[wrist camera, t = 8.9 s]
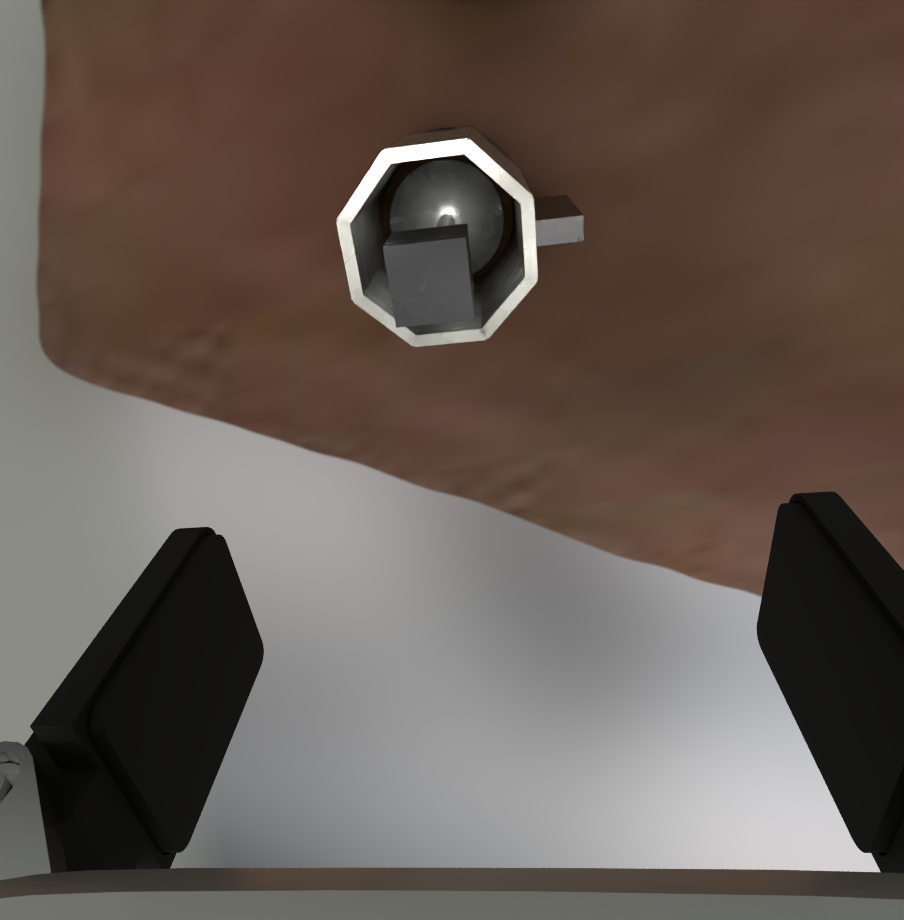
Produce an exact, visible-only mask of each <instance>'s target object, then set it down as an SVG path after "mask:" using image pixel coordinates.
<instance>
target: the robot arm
mask: <svg viewBox="0 0 904 920" xmlns="http://www.w3.org/2000/svg"><path fill="white" fill-rule="evenodd" d="M757 636H758V641H759V644H760V647H761V649H762V652H763V654H764V656H765V658H766V660H767V662H768V664H769V666H770V668H771V670H772V672H773V675H774V677H775V679H776V681H777V683H778V685H779V687H780V689H781V691H782V693H783V695H784V697H785V699H786V702H787V704H788V706H789V708H790V710H791V712H792V714H793V716H794V718H795V720H796V722H797V724H798V726H799V729H800V731H801V733H802V735H803V737H804V739H805V741H806V743H807V745H808V747H809V749H810V751H811V754H812V756H813V757H814V760H815V762H816V764H817V766H818V768H819V770H820V772H821V774H822V776H823V779H824V780H825V783H826V785H827V787H828V789H829V791H830V793H831V795H832V797H833V799H834V801H835V803H836V805H837V808H838V810H839V812H840V814H841V816H842V818H843V820H844V822H845V824H846V826H847V828H848V830H849V833H850V835H851V837H852V839H853V840H854V842H855V844H856V846H857V847H858V848H859V849H860V850H861V851H862V852H864V853H872V855H873V857H874V859H875V861H876V863H877V865H878V867H879V869H880V871H881V873H879V872H877V873H876V872H840V871H839V872H838V871H800V870H730V869H721V870H720V869H607V868H605V869H604V868H176V869H170V867H171V865H172V862H173V860H174V858H175V855H176V853H180V852H182V851H183V850H184V849H185V848H186V847H187V845H188V843H189V841H190V839H191V837H192V834H193V832H194V829H195V827H196V824H197V822H198V820H199V817H200V815H201V812H202V810H203V807H204V805H205V802H206V800H207V797H208V795H209V793H210V790H211V788H212V785H213V783H214V780H215V777H216V775H217V773H218V770H219V768H220V765H221V763H222V761H223V758H224V756H225V753H226V750H227V748H228V746H229V743H230V741H231V738H232V736H233V733H234V731H235V729H236V726H237V723H238V721H239V719H240V716H241V714H242V711H243V709H244V706H245V704H246V701H247V699H248V696H249V694H250V692H251V689H252V687H253V684H254V681H255V679H256V677H257V674H258V672H259V669H260V667H261V664H262V661H263V654H264V649H263V643H262V640H261V637H260V634H259V631H258V629H257V626H256V623H255V620H254V617H253V615H252V612H251V609H250V606H249V604H248V601H247V598H246V595H245V593H244V590H243V587H242V585H241V582H240V579H239V576H238V573H237V571H236V568H235V565H234V562H233V560H232V557H231V554H230V551H229V549H228V546H227V543H226V541H225V539H224V537H223V536H222V535H216V533H215V532H214V530H213V529H212V528H209V527H199V528H182V529H176V530H174V531H173V532H172V533H171V534H170V536H169V537H168V539H167V540H166V541H165V543H164V544H163V546H162V547H161V548H160V550H159V551H158V552H157V554H156V555H155V557H154V558H153V559H152V560H151V562H150V563H149V564H148V566H147V567H146V569H145V570H144V571H143V573H142V574H141V576H140V577H139V578H138V580H137V581H136V582H135V584H134V585H133V587H132V588H131V589H130V590H129V592H128V593H127V595H126V596H125V597H124V599H123V600H122V602H121V603H120V604H119V606H118V607H117V608H116V610H115V611H114V612H113V614H112V615H111V617H110V618H109V619H108V621H107V622H106V623H105V625H104V626H103V627H102V629H101V630H100V631H99V633H98V634H97V636H96V637H95V638H94V640H93V641H92V642H91V644H90V645H89V647H88V648H87V649H86V651H85V652H84V653H83V655H82V656H81V657H80V659H79V660H78V661H77V663H76V664H75V666H74V667H73V668H72V670H71V671H70V672H69V674H68V675H67V677H66V678H65V679H64V681H63V682H62V683H61V685H60V686H59V688H58V689H57V690H56V692H55V693H54V694H53V696H52V697H51V698H50V700H49V701H48V702H47V704H46V705H45V707H44V708H43V709H42V711H41V712H40V713H39V715H38V716H37V718H36V719H35V720H34V722H33V723H32V724H31V726H30V727H31V728H32V730H33V731H34V732H33V734H32V735H31V737H30V738H29V740H28V741H27V742H26V743H25V745H22V744H20V743H19V742H8V741H3V742H0V920H904V570H903V569H902V568H901V567H900V566H899V565H898V563H897V562H896V561H895V560H894V559H893V558H892V556H891V555H890V554H889V553H888V552H887V551H886V549H885V548H884V547H883V546H882V545H881V544H880V542H879V541H878V540H877V539H876V538H875V537H874V535H873V534H872V533H871V532H870V531H869V530H868V528H867V527H866V526H865V525H864V524H863V523H862V521H861V520H860V519H859V518H858V517H857V516H856V514H855V513H854V512H853V511H852V510H851V509H850V507H849V506H848V505H847V504H846V503H845V502H844V500H843V499H842V498H841V497H840V496H839V495H838V494H837V493H835V492H815V493H798V494H794V495H793V496H792V497H791V499H790V501H789V503H783V504H781V505H780V507H779V509H778V513H777V518H776V524H775V529H774V534H773V540H772V545H771V551H770V556H769V562H768V567H767V573H766V578H765V584H764V589H763V595H762V600H761V605H760V611H759V617H758V622H757Z"/></svg>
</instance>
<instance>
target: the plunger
mask: <svg viewBox="0 0 904 920" xmlns="http://www.w3.org/2000/svg"><path fill="white" fill-rule="evenodd" d="M503 225H504V217H503V209H502V204H501V200H500V197H499V195H498V192H497V190H496V188H495V187H494V185H493V183H492V182H491V181H490V180H489V178H488V177H487V176H486V175H485V174H484V173H483V172H482V171H480V170H479V169H478V168H476V167H474V166H473V165H471V164H469V163H466V162H464V161H460V160H456V159H438V160H433V161H430V162H427V163H425V164H423V165H421V166H419V167H418V168H416V169H415V170H414V171H412V172H411V173H410V174H409V175H408V176H407V177H406V178H405V180H404V181H403V182H402V183H401V185H400V186H399V188H398V190H397V191H396V194H395V196H394V199H393V202H392V206H391V212H390V227H391V235H390V236H389V238H388V240H387V241H386V243H385V244H384V246H383V253H384V259H385V265H386V271H387V276H388V282H389V288H390V294H391V300H392V306H393V312H394V318H395V324H396V328H399V327H408V326H418V325H428V324H438V323H447V322H457V321H467V320H474V312H475V294H474V284H473V273H475V272H477V271H478V270H480V269H481V268H482V267H483V266H484V265H486V263H487V262H488V261H489V260H490V259H491V258H492V256H493V255H494V253H495V251H496V250H497V248H498V246H499V243H500V240H501V237H502V233H503Z"/></svg>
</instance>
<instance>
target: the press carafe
mask: <svg viewBox="0 0 904 920" xmlns="http://www.w3.org/2000/svg"><path fill="white" fill-rule="evenodd" d="M438 159H456V160H460V161H464V162H466V163H469V164H471V165H473V166H474V167H476V168H478V169H479V170H480V171H482V172H483V173H484V174H485V175H486V176H487V177H488V178H489V180H490V181H491V182H492V183H493V185H494V187H495V188H496V190H497V192H498V195H499V197H500V200H501V204H502V209H503V217H504V225H503V233H502V237H501V240H500V243H499V246H498V248H497V250H496V251H495V253H494V255H493V256H492V258H491V259H490V260H489V261H488V262H487V263H486V265H484V266H483V267H482V268H481V269H480V270H478V271H477V272H475V273H473V284H474V294H475V312H474V320H467V321H457V322H447V323H438V324H428V325H418V326H408V327H399V328H396V324H395V318H394V312H393V306H392V300H391V294H390V288H389V282H388V276H387V271H386V265H385V259H384V253H383V246H384V244H385V243H386V241H387V240H388V238H389V236H390V235H391V227H390V212H391V206H392V202H393V199H394V196H395V194H396V191H397V190H398V188H399V186H400V185H401V183H402V182H403V181H404V180H405V178H406V177H407V176H408V175H409V174H410V173H411V172H412V171H414V170H415V169H416V168H418V167H419V166H421V165H423V164H425V163H427V162H430V161H433V160H438ZM337 220H338V221H337V222H336V223H337V228H338V233H339V238H340V243H341V248H342V253H343V258H344V263H345V268H346V273H347V278H348V283H349V288H350V293H351V298H352V300H354V301H353V302H354V303H355V304H357V305H358V306H359V307H361V308H362V309H363V310H365V311H366V312H367V313H369V314H370V315H371V316H373V317H374V318H375V319H377V320H378V321H379V322H381V323H382V324H383V325H385V326H386V327H387V328H389V329H390V330H391V331H393V332H394V333H395V334H397V335H398V336H399V337H401V338H402V339H403V340H405V341H406V342H407V343H409V344H410V345H411V346H415V347H420V346H430V345H440V344H450V343H460V342H470V341H480V340H486V338H488V339H489V337H490V336H491V335H492V334H493V333H494V332H495V330H496V329H497V328H498V327H499V326H500V325H501V323H502V322H503V321H504V320H505V319H506V318H507V316H508V315H509V314H510V313H511V312H512V311H513V310H514V308H515V307H516V306H517V305H518V304H519V303H520V301H521V300H522V299H523V298H524V297H525V296H526V294H527V293H528V292H529V291H530V290H531V289H532V287H533V286H534V285H535V284H536V283H537V280H538V271H537V251H536V246H545V245H554V244H562V243H571V242H580V241H584V235H583V214H582V213H581V212H580V211H579V210H578V208H577V207H576V206H575V205H574V204H573V202H572V201H571V200H570V199H569V198H568V196H567V195H562V196H554V197H545V198H537V199H534V197H533V195H532V193H531V191H530V189H529V187H528V185H527V183H526V181H525V179H524V177H523V175H522V173H521V171H520V169H519V168H518V167H517V166H516V165H515V164H514V163H513V162H512V161H510V160H509V159H508V158H507V156H506V155H505V154H504V153H503V152H502V151H501V149H500V148H499V147H498V146H496V145H495V144H494V143H493V142H491V141H490V140H489V139H487V138H485V137H484V136H483V135H482V134H481V133H480V132H478V131H477V130H476V129H475V128H474V127H472V128H471V126H468V127H461V128H440V129H435V130H430V131H428V132H423V133H415V134H410V135H408V136H406V137H405V138H403V139H401V140H399V141H398V142H396V143H394V144H392V145H391V146H389V147H387V148H385V149H384V150H382V151H381V153H380V154H379V156H378V157H377V159H376V160H375V162H374V163H373V165H372V166H371V168H370V169H369V171H368V172H367V174H366V176H365V177H364V179H363V180H362V182H361V183H360V185H359V186H358V188H357V189H356V191H355V192H354V194H353V195H352V197H351V198H350V200H349V202H348V203H347V205H346V206H345V208H344V209H343V211H342V212H341V214H340V215H339V217H338V218H337Z"/></svg>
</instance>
